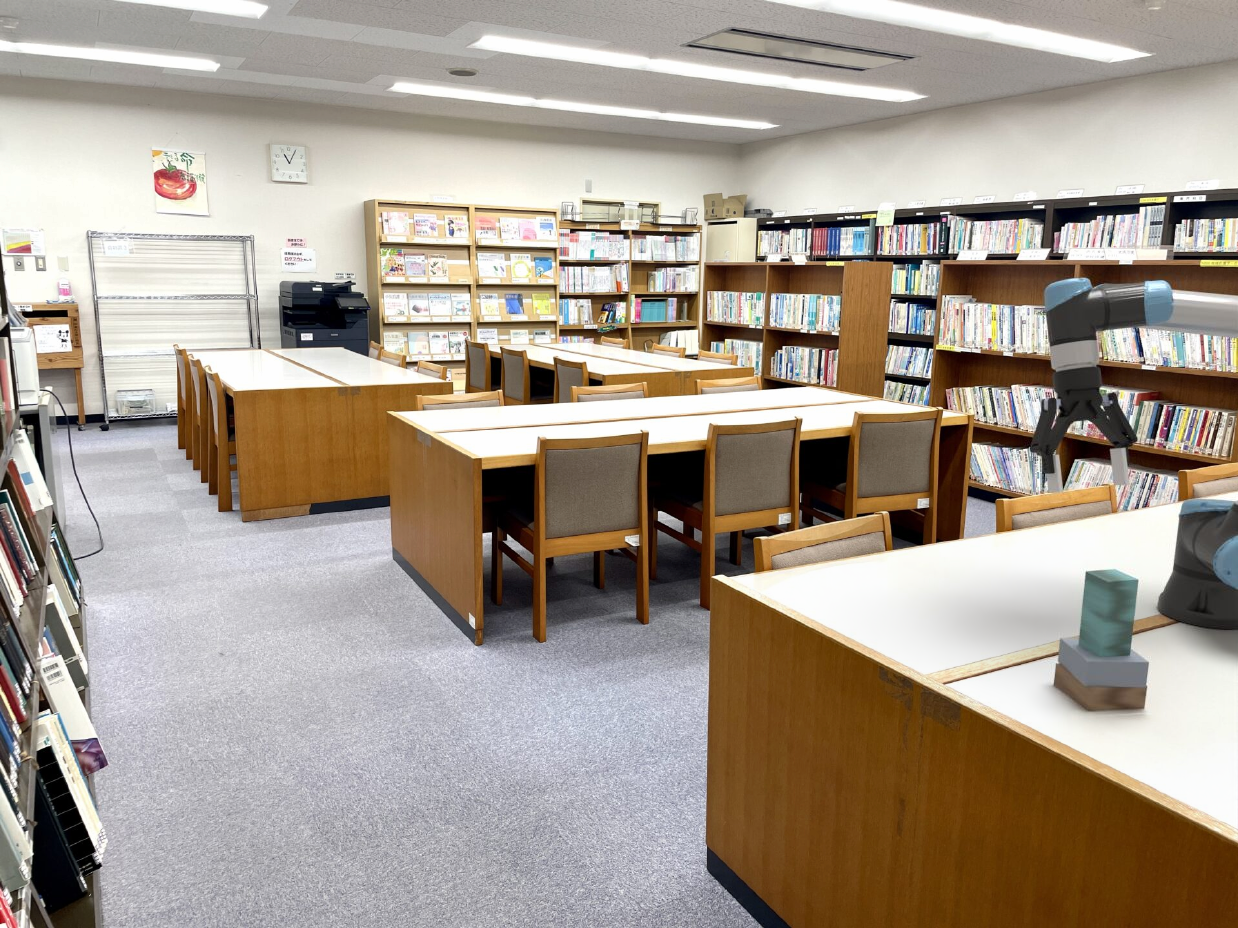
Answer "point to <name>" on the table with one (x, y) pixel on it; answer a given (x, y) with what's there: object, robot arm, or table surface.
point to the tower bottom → (1099, 693)
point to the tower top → (1102, 666)
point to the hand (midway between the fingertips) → (1089, 488)
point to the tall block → (1108, 612)
